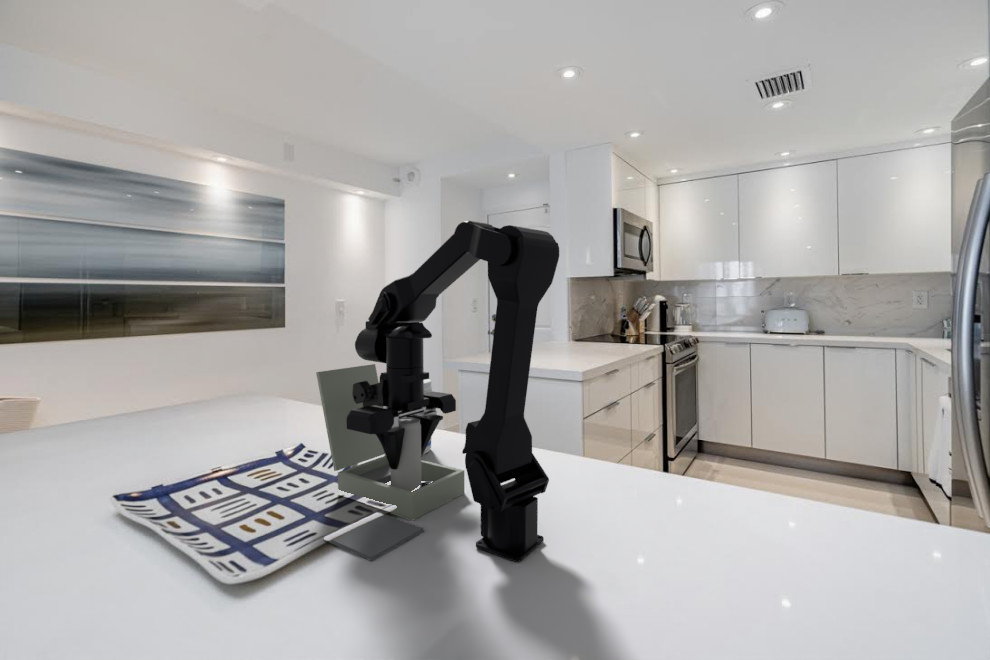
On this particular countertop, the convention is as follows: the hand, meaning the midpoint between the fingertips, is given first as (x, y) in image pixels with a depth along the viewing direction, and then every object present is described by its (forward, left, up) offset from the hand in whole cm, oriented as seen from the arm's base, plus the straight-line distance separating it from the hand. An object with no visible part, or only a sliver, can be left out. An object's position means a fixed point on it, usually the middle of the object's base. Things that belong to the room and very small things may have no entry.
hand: (405, 464), depth 77 cm
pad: (-6, +12, -5) cm, 14 cm away
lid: (+11, 0, +7) cm, 13 cm away
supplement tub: (+16, -17, -5) cm, 24 cm away
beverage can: (0, 0, -5) cm, 5 cm away
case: (+1, 0, -5) cm, 5 cm away
